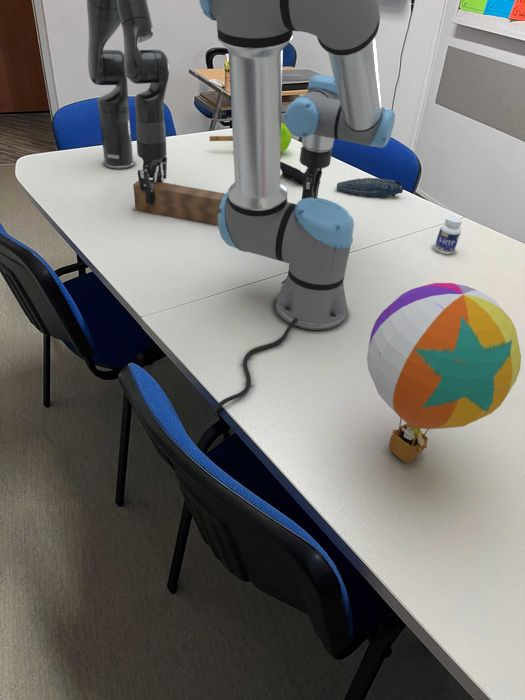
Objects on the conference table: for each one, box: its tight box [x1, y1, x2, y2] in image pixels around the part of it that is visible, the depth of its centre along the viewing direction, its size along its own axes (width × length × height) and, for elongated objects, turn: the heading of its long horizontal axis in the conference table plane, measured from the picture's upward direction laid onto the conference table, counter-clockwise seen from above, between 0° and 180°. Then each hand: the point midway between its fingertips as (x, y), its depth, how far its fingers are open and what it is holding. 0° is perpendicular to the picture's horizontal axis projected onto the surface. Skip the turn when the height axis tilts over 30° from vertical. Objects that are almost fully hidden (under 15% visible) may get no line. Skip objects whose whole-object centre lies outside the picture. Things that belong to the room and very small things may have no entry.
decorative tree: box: [209, 122, 292, 154], centre depth 187 cm, size 18×10×30 cm
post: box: [132, 179, 227, 226], centre depth 141 cm, size 53×5×7 cm, turn 75°
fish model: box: [336, 177, 404, 198], centre depth 166 cm, size 7×21×5 cm, turn 84°
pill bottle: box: [434, 215, 463, 255], centre depth 137 cm, size 5×5×9 cm
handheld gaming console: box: [280, 160, 305, 185], centre depth 171 cm, size 12×7×10 cm
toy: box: [366, 282, 522, 464], centre depth 73 cm, size 20×20×30 cm
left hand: (154, 199), depth 145 cm, fingers open, 5 cm apart
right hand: (304, 235), depth 140 cm, fingers closed on post, 5 cm apart
